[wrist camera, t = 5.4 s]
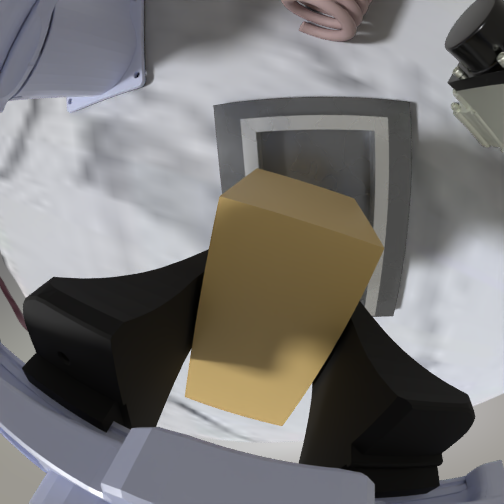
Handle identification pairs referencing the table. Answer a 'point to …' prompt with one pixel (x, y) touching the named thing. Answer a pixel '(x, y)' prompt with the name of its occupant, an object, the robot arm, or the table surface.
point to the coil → (330, 4)
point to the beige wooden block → (276, 293)
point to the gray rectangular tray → (331, 163)
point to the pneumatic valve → (479, 71)
